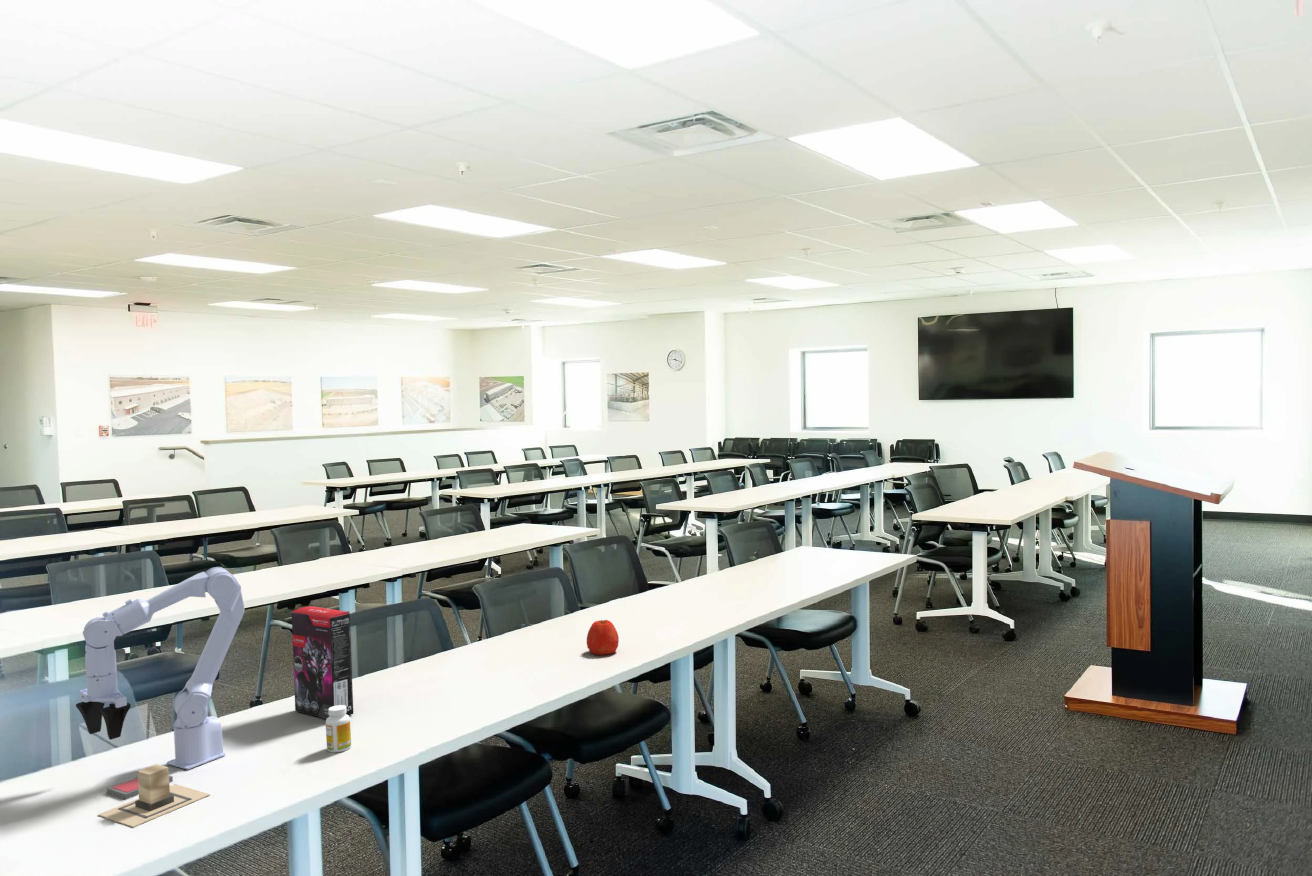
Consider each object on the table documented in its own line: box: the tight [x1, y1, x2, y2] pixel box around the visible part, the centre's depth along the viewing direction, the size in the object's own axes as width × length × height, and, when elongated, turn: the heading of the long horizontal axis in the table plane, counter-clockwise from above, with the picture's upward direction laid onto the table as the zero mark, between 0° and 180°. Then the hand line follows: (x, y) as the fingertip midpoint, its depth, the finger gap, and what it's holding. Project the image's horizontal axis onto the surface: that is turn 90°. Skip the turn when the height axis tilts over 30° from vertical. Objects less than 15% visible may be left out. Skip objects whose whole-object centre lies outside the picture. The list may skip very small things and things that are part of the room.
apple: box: [586, 619, 620, 656], centre depth 287 cm, size 10×10×10 cm
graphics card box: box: [291, 605, 354, 720], centre depth 236 cm, size 17×7×27 cm, turn 56°
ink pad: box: [106, 775, 174, 800], centre depth 192 cm, size 10×7×1 cm
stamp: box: [135, 763, 174, 811], centre depth 183 cm, size 5×5×7 cm
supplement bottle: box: [325, 705, 352, 753], centre depth 211 cm, size 5×5×10 cm
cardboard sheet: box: [97, 783, 211, 828], centre depth 183 cm, size 16×12×1 cm
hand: (104, 735), depth 196 cm, fingers open, 7 cm apart
